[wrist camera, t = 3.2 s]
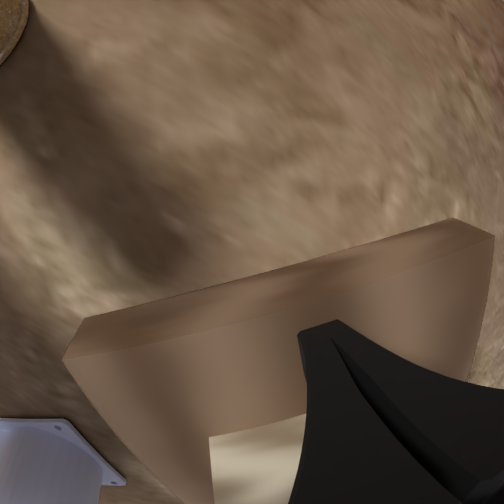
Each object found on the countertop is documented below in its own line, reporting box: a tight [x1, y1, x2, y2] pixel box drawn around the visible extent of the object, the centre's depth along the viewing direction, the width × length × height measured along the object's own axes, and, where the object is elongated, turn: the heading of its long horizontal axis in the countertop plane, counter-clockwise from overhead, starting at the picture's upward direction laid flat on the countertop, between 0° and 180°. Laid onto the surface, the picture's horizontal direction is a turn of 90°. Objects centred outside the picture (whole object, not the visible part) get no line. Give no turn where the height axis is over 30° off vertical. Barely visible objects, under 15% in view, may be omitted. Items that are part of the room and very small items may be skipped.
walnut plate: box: [62, 218, 495, 504], centre depth 14 cm, size 18×14×3 cm
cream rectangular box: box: [209, 414, 306, 504], centre depth 11 cm, size 10×5×4 cm, turn 103°
